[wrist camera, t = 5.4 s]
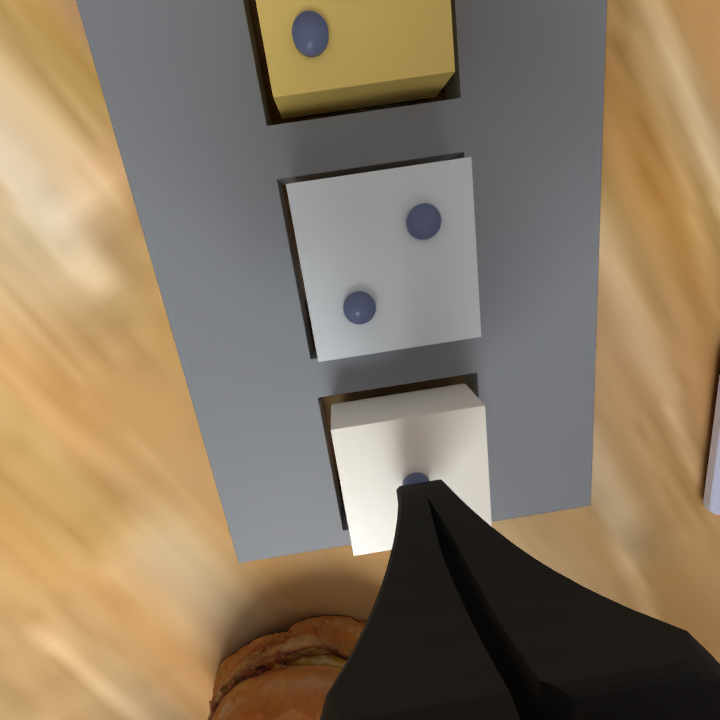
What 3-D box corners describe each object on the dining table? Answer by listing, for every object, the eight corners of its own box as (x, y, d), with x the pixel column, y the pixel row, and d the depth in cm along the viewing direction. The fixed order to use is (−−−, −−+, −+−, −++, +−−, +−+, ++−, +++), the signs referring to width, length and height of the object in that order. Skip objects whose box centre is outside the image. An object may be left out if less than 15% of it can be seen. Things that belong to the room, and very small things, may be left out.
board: (576, -161, 11) (613, -223, 10) (568, 481, 18) (590, 505, 16) (75, -94, 11) (33, -147, 10) (247, 534, 17) (238, 563, 16)
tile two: (449, 169, 12) (474, 154, 10) (460, 322, 14) (483, 338, 12) (293, 192, 12) (285, 183, 10) (320, 344, 14) (318, 364, 12)
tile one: (465, 383, 14) (487, 408, 12) (473, 497, 16) (494, 537, 14) (331, 404, 14) (330, 432, 12) (351, 517, 16) (354, 560, 14)
